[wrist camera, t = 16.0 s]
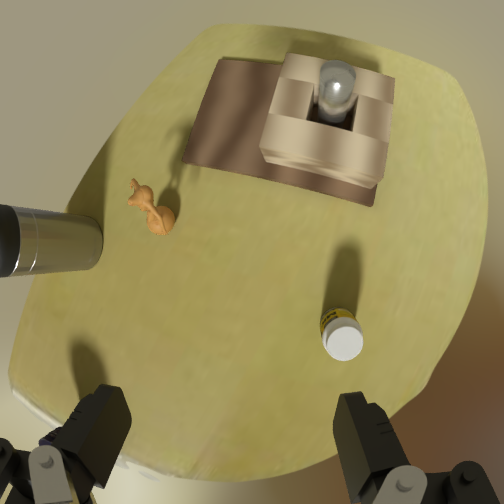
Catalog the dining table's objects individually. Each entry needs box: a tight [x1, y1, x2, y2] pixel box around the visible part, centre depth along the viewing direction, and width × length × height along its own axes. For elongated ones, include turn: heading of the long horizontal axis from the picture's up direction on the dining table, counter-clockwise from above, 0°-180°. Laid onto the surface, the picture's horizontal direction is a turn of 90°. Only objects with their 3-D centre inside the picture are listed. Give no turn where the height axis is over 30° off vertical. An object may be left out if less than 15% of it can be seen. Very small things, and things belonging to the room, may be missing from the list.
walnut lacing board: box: [182, 59, 377, 207], centre depth 36 cm, size 26×18×2 cm
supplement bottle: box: [320, 307, 363, 361], centre depth 32 cm, size 5×5×8 cm
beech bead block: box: [259, 53, 395, 189], centre depth 31 cm, size 14×14×6 cm
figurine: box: [128, 178, 175, 235], centre depth 34 cm, size 8×6×12 cm
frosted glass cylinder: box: [317, 60, 356, 129], centre depth 28 cm, size 3×3×13 cm
